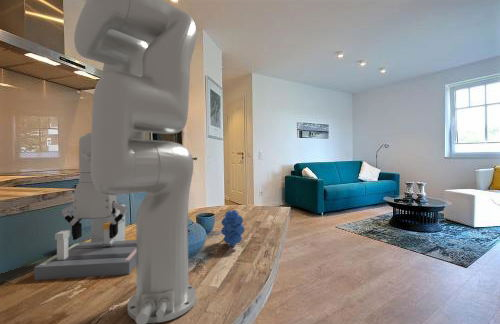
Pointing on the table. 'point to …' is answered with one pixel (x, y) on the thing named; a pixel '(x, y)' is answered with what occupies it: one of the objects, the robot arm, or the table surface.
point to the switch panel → (87, 259)
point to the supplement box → (98, 231)
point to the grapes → (232, 227)
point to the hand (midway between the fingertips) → (95, 237)
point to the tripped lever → (107, 235)
